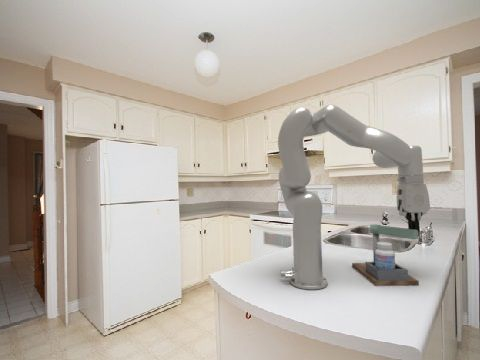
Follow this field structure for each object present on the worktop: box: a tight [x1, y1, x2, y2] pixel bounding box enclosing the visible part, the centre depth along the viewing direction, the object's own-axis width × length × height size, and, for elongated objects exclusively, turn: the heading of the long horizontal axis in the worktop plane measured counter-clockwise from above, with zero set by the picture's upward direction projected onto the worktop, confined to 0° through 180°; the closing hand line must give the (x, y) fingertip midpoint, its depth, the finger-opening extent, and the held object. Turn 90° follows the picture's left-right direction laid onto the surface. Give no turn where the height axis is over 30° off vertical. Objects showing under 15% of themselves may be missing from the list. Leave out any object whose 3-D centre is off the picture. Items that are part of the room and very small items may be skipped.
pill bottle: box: [375, 241, 396, 269], centre depth 90 cm, size 6×6×11 cm
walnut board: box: [351, 262, 420, 287], centre depth 95 cm, size 14×20×2 cm
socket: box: [364, 261, 409, 281], centre depth 90 cm, size 10×10×4 cm
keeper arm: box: [369, 223, 419, 240], centre depth 98 cm, size 17×4×3 cm, turn 28°
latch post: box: [372, 233, 381, 262], centre depth 103 cm, size 2×2×12 cm
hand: (414, 231), depth 93 cm, fingers closed
